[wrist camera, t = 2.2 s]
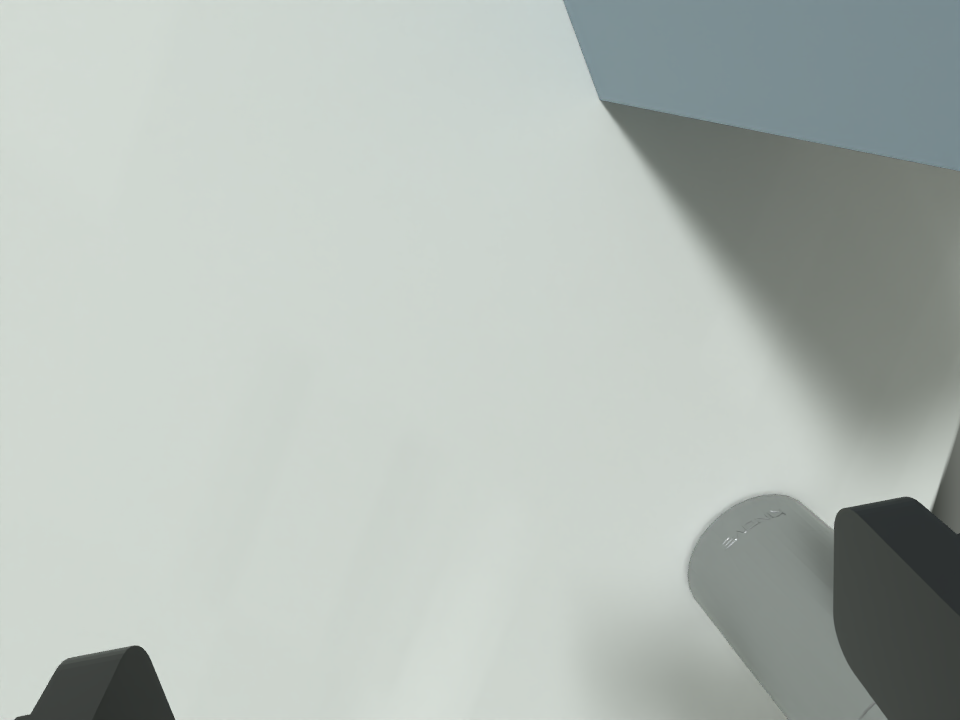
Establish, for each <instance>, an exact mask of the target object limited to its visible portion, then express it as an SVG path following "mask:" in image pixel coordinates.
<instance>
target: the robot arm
mask: <svg viewBox="0 0 960 720" xmlns="http://www.w3.org/2000/svg"><path fill="white" fill-rule="evenodd" d="M688 582H689V588H690V590H691V592H692V595H693V597H694V599H695V600H696V601H697V602H698V604H699V605H700V606H701V608H702V609H703V610H704V611H705V613H706V614H707V615H708V617H709V618H710V619H711V620H712V622H713V623H714V624H715V626H716V627H717V628H718V629H719V631H720V632H721V633H722V635H723V636H724V637H725V638H726V640H727V641H728V643H729V644H730V645H731V647H732V648H733V649H734V651H735V652H736V653H737V654H738V656H739V657H740V658H741V660H742V661H743V662H744V663H745V665H746V666H747V667H748V669H749V670H750V671H751V672H752V674H753V675H754V676H755V678H756V679H757V680H758V681H759V683H760V684H761V685H762V687H763V688H764V689H765V690H766V692H767V693H768V694H769V696H770V697H771V698H772V699H773V701H774V702H775V703H776V705H777V706H778V707H779V708H780V710H781V711H782V712H783V714H784V715H785V716H786V717H787V719H788V720H960V534H956V533H955V532H953V531H952V530H951V529H950V528H949V527H948V526H946V525H945V524H944V523H943V522H942V521H940V520H939V519H938V518H937V517H936V516H935V515H934V514H932V513H931V512H930V511H929V510H928V509H927V508H925V507H924V506H923V505H922V504H921V503H919V502H918V501H917V500H915V499H913V498H911V497H901V498H895V499H890V500H885V501H880V502H874V503H869V504H864V505H859V506H853V507H848V508H843V509H841V510H840V511H839V512H838V513H837V515H836V518H835V523H834V530H833V529H832V528H831V527H829V526H828V525H827V524H826V523H825V522H824V521H822V520H821V519H820V518H819V517H818V516H816V515H815V514H814V513H813V512H812V511H811V510H809V509H808V508H807V507H806V506H805V505H803V504H802V503H801V502H800V501H798V500H796V499H794V498H791V497H789V496H784V495H776V494H774V495H762V496H758V497H755V498H751V499H748V500H746V501H744V502H742V503H739V504H737V505H735V506H733V507H732V508H731V509H729V510H728V511H726V512H725V513H723V514H722V515H721V516H719V517H718V518H717V519H716V520H715V521H714V522H713V523H712V524H711V525H710V526H709V527H708V528H707V530H706V531H705V532H704V534H703V535H702V536H701V538H700V539H699V541H698V543H697V545H696V547H695V548H694V550H693V553H692V556H691V559H690V562H689V569H688ZM15 720H175V718H174V716H173V713H172V711H171V708H170V706H169V704H168V701H167V699H166V696H165V694H164V691H163V689H162V686H161V684H160V681H159V679H158V677H157V674H156V672H155V669H154V667H153V664H152V662H151V660H150V658H149V655H148V654H147V653H146V651H145V650H144V649H143V648H141V647H140V646H130V647H124V648H119V649H114V650H109V651H103V652H98V653H93V654H88V655H82V656H77V657H72V658H68V659H66V660H65V661H63V662H62V663H61V664H60V665H59V666H58V668H57V669H56V671H55V673H54V674H53V676H52V678H51V680H50V681H49V683H48V685H47V687H46V688H45V690H44V692H43V693H42V695H41V697H40V699H39V700H38V702H37V704H36V706H35V707H34V709H33V711H32V713H31V714H30V715H25V716H20V717H17V718H16V719H15Z"/></svg>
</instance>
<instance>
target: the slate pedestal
mask: <svg viewBox="0 0 960 720" xmlns="http://www.w3.org/2000/svg"><path fill="white" fill-rule="evenodd" d="M563 1H564V4H565V6H566V9H567V12H568V15H569V17H570V20H571V23H572V25H573V28H574V31H575V34H576V36H577V39H578V42H579V44H580V47H581V50H582V53H583V55H584V58H585V61H586V63H587V66H588V69H589V72H590V74H591V77H592V80H593V82H594V85H595V88H596V91H597V93H598V96H599V99H600V100H603V101H608V102H613V103H618V104H623V105H628V106H633V107H639V108H644V109H649V110H654V111H659V112H664V113H669V114H674V115H679V116H684V117H689V118H694V119H699V120H704V121H709V122H714V123H719V124H724V125H729V126H735V127H740V128H745V129H750V130H755V131H760V132H765V133H770V134H775V135H780V136H785V137H790V138H795V139H800V140H805V141H810V142H815V143H820V144H826V145H831V146H836V147H841V148H846V149H851V150H856V151H861V152H866V153H871V154H876V155H881V156H886V157H891V158H896V159H901V160H906V161H911V162H916V163H922V164H927V165H932V166H937V167H942V168H947V169H952V170H957V171H960V0H563Z"/></svg>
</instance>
